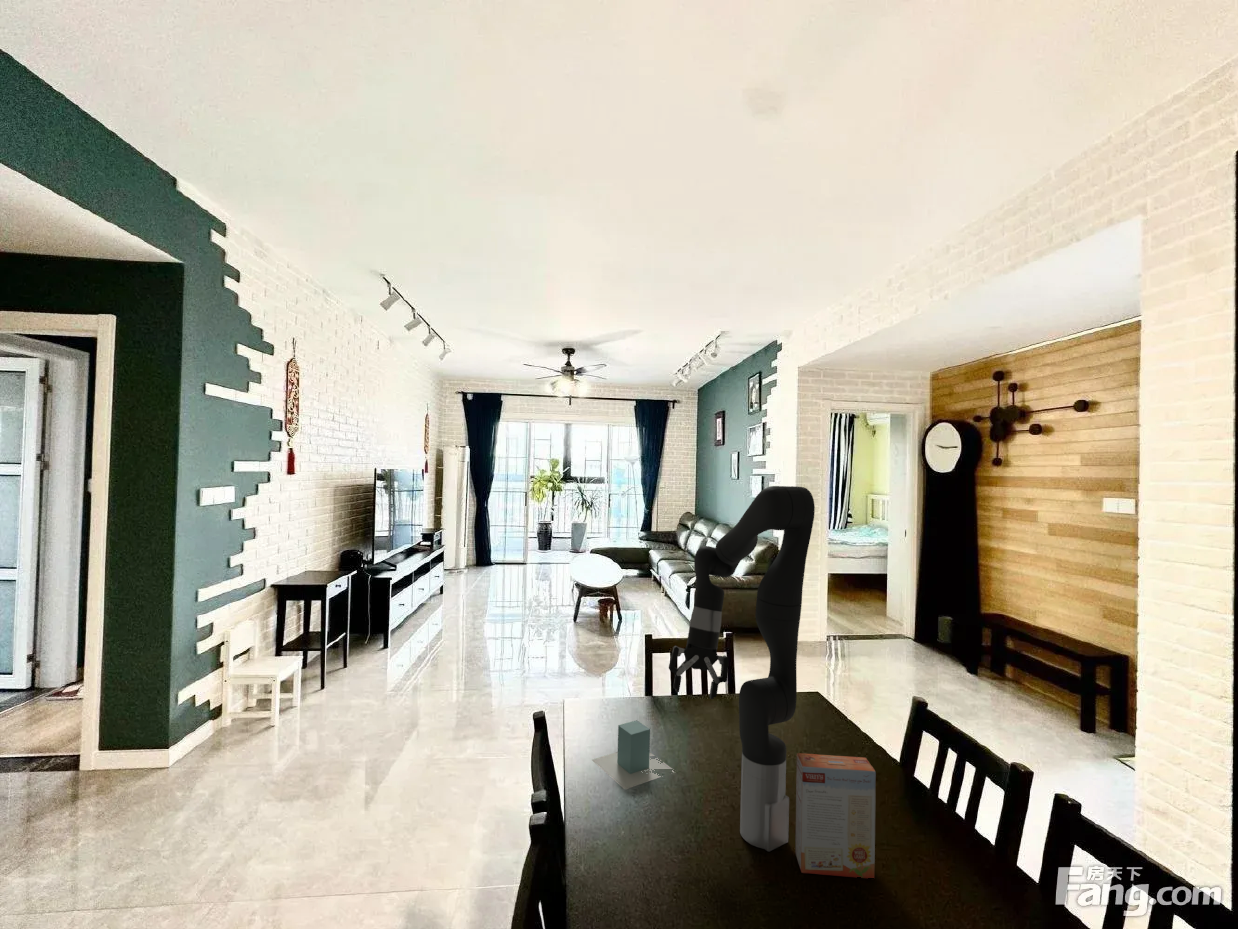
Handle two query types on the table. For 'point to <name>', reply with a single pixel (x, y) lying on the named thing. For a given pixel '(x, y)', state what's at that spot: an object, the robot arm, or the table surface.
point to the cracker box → (835, 815)
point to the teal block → (633, 746)
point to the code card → (625, 778)
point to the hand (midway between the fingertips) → (694, 695)
